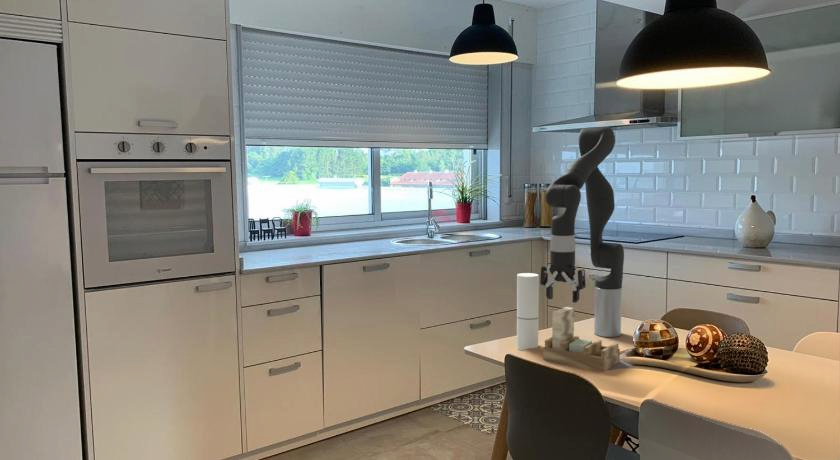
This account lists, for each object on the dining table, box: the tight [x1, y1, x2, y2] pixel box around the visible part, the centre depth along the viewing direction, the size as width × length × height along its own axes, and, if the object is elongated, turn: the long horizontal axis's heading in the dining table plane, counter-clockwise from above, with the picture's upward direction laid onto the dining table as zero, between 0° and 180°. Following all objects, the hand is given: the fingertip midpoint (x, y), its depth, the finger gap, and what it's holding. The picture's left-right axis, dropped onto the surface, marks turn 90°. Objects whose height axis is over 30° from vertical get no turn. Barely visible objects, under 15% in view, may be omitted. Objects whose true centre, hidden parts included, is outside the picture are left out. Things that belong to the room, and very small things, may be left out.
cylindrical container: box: [516, 272, 540, 352], centre depth 218 cm, size 7×7×25 cm
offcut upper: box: [569, 338, 593, 354], centre depth 201 cm, size 7×5×3 cm, turn 145°
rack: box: [542, 335, 621, 373], centre depth 201 cm, size 12×19×7 cm, turn 51°
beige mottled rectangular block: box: [551, 306, 575, 350], centre depth 205 cm, size 9×3×15 cm, turn 141°
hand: (562, 300), depth 204 cm, fingers open, 8 cm apart
